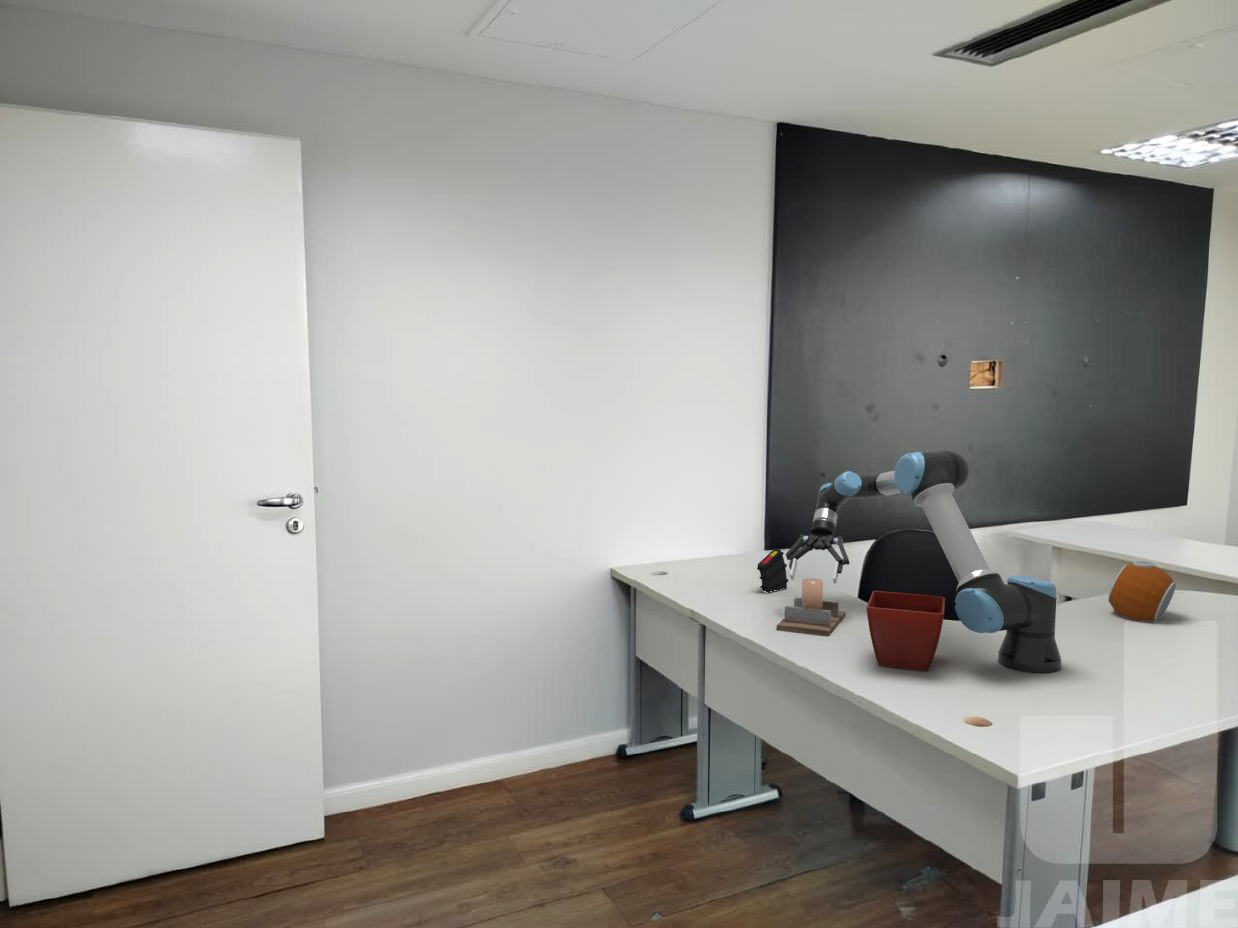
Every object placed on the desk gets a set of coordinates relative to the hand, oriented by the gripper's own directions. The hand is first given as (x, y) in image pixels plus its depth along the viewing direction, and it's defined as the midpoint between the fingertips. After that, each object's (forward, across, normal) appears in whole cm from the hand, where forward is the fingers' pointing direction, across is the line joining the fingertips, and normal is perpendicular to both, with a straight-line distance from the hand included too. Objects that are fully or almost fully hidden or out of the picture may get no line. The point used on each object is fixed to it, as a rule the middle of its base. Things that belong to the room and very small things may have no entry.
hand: (812, 579), depth 269 cm
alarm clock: (-23, -94, -42) cm, 105 cm away
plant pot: (+31, -32, +12) cm, 46 cm away
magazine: (-13, +22, -32) cm, 41 cm away
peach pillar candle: (+10, 0, -6) cm, 12 cm away
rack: (+12, 0, -7) cm, 14 cm away
